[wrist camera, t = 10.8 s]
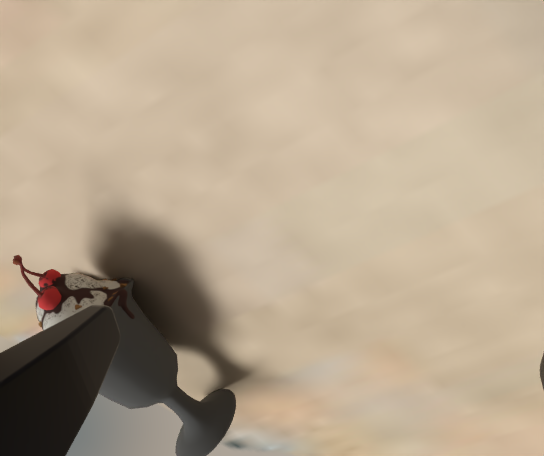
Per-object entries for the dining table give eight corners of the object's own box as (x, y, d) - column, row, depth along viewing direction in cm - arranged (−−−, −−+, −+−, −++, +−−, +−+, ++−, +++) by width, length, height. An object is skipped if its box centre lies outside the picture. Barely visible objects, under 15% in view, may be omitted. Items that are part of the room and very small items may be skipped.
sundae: (234, 462, 22) (-1, 267, 18) (152, 491, 25) (-70, 329, 21) (257, 365, 28) (82, 197, 23) (187, 397, 31) (19, 253, 26)
